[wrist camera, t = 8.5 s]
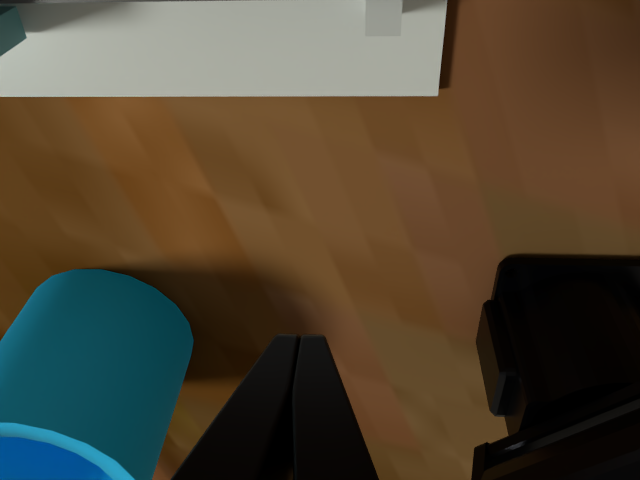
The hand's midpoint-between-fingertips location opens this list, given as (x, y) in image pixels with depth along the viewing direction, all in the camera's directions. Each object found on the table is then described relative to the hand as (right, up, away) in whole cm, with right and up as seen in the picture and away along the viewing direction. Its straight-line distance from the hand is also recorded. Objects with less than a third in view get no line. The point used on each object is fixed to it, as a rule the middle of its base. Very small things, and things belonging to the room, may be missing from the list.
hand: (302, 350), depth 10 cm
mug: (-12, -3, +20) cm, 23 cm away
